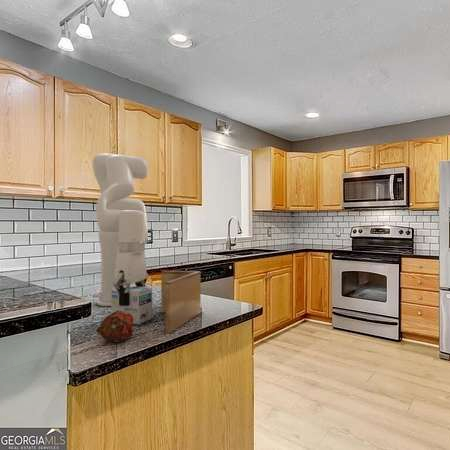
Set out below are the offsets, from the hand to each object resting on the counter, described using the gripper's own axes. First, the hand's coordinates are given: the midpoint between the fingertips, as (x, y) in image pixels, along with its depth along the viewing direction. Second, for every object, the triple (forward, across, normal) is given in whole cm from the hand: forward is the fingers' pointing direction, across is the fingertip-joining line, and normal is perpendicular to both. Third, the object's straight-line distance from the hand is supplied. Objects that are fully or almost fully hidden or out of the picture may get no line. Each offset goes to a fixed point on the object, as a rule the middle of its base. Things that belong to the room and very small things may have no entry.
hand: (132, 301), depth 105 cm
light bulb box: (+6, 0, 0) cm, 6 cm away
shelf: (+6, -1, +10) cm, 12 cm away
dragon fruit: (+6, +16, +6) cm, 18 cm away
